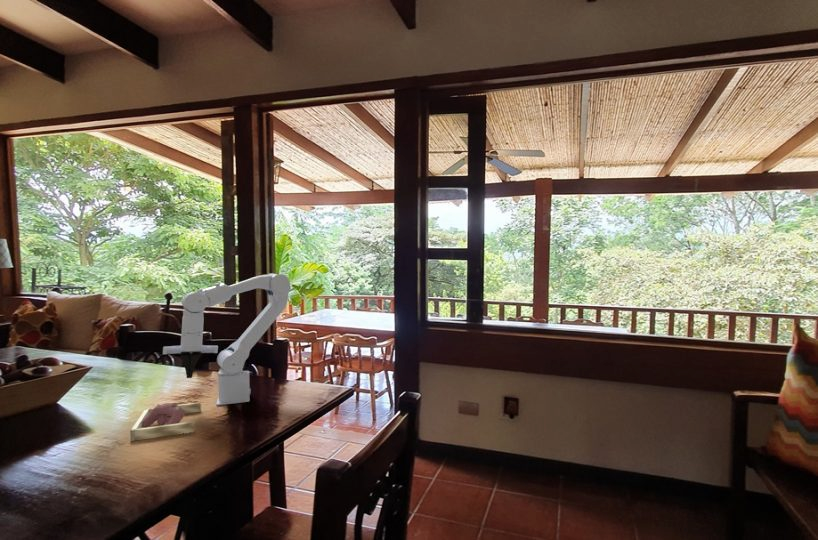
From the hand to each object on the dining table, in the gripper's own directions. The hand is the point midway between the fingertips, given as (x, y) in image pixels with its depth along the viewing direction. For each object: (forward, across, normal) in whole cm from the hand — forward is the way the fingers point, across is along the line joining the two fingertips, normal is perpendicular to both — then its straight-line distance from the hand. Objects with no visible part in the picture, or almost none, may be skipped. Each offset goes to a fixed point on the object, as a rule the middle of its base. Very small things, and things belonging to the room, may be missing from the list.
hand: (189, 377), depth 122 cm
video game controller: (+10, +4, +12) cm, 16 cm away
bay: (+10, +4, +11) cm, 15 cm away
